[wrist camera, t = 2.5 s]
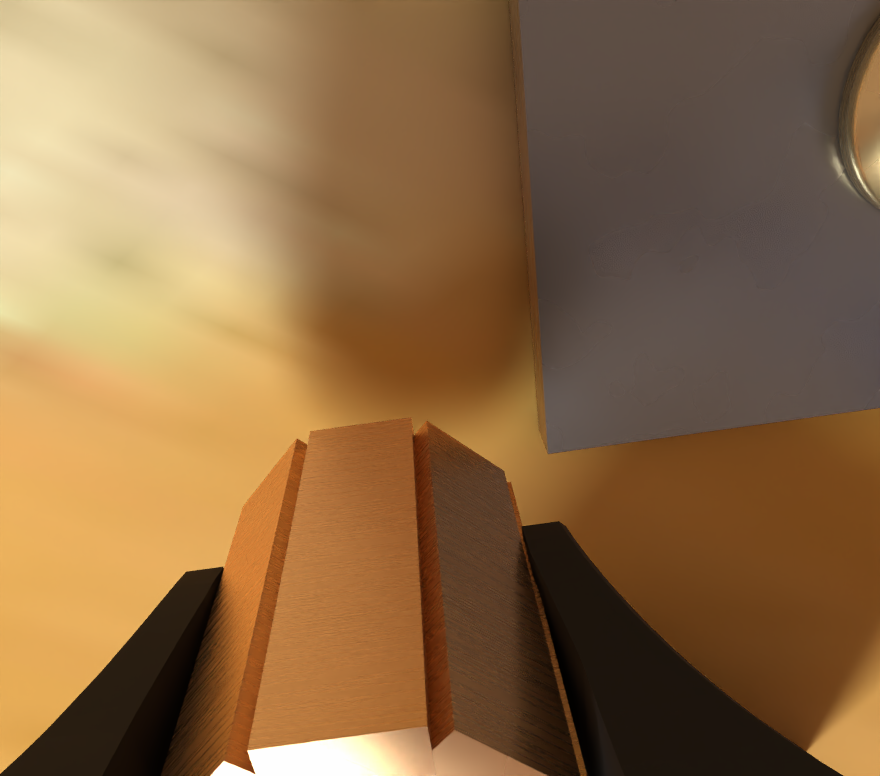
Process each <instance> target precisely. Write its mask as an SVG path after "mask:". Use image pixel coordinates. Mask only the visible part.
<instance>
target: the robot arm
mask: <svg viewBox="0 0 880 776" xmlns="http://www.w3.org/2000/svg"><path fill="white" fill-rule="evenodd" d="M522 535H523V539H524V543H525V547H526V551H527V555H528V559H529V562H530V566H531V570H532V574H533V578H534V580H535V583H536V585H537V588H538V590H539V593H540V596H541V600H542V604H543V608H544V612H545V615H546V619H547V623H548V627H549V631H550V635H551V638H552V642H553V646H554V650H555V654H556V658H557V661H558V665H559V669H560V673H561V677H562V681H563V685H564V688H565V692H566V696H567V700H568V704H569V708H570V711H571V715H572V719H573V723H574V727H575V731H576V734H577V738H578V742H579V746H580V750H581V754H582V758H583V761H584V765H585V769H586V773H587V776H843V775H841V774H840V773H838V772H836V771H835V770H833V769H832V768H830V767H828V766H827V765H825V764H823V763H822V762H820V761H819V760H817V759H816V758H814V757H813V756H812V755H810V754H809V753H807V752H806V751H804V750H803V749H801V748H800V747H798V746H797V745H796V744H794V743H793V742H791V741H790V740H788V739H787V738H785V737H784V736H782V735H781V734H780V733H778V732H777V731H775V730H774V729H772V728H771V727H769V726H768V725H766V724H765V723H764V722H762V721H761V720H759V719H758V718H757V717H755V716H754V715H752V714H751V713H750V712H749V711H747V710H746V709H745V708H743V707H742V706H741V705H740V704H738V703H737V702H736V701H734V700H733V699H732V698H731V697H729V696H728V695H727V694H725V693H724V692H723V691H722V690H720V689H719V688H718V687H717V686H716V685H714V684H713V683H712V682H711V681H710V680H708V679H707V678H706V677H705V676H704V675H702V674H701V673H700V672H699V671H698V670H696V669H695V668H694V667H693V666H692V665H691V664H690V663H688V662H687V661H686V660H685V659H684V658H683V657H682V656H681V655H680V654H679V653H677V652H676V651H675V650H674V649H673V648H672V647H671V646H670V645H669V644H668V643H667V642H666V641H665V640H664V639H663V638H662V637H661V636H660V635H658V634H657V633H656V632H655V631H654V630H653V629H652V628H651V627H650V626H649V625H648V624H647V623H646V622H645V621H644V620H643V619H642V618H641V617H640V616H639V615H638V613H637V612H636V611H635V610H634V609H633V608H632V607H631V606H630V605H629V604H628V603H627V602H626V600H625V599H624V598H623V597H622V596H621V595H620V594H619V593H618V592H617V591H616V590H615V589H614V587H613V586H612V585H611V584H610V583H609V582H608V581H607V579H606V578H605V577H604V576H603V575H602V574H601V572H600V571H599V570H598V569H597V567H596V566H595V565H594V564H593V563H592V561H591V560H590V559H589V558H588V556H587V555H586V554H585V552H584V551H583V550H582V549H581V547H580V546H579V545H578V543H577V542H576V540H575V539H574V538H573V536H572V535H571V533H570V532H569V530H568V529H567V527H566V526H565V525H563V524H562V523H560V522H559V521H558V522H551V523H544V524H536V525H529V526H522ZM223 571H224V568H223V567H218V568H211V569H203V570H196V571H189V572H186V573H185V574H184V575H183V576H182V577H181V578H180V579H179V581H178V582H177V583H176V584H175V585H174V586H173V588H172V589H171V590H170V591H169V592H168V594H167V595H166V596H165V597H164V598H163V600H162V601H161V602H160V603H159V604H158V606H157V607H156V608H155V609H154V611H153V612H152V613H151V614H150V615H149V617H148V618H147V619H146V620H145V621H144V622H143V624H142V625H141V626H140V627H139V628H138V630H137V631H136V632H135V633H134V634H133V636H132V637H131V638H130V639H129V640H128V641H127V643H126V644H125V645H124V646H123V647H122V648H121V650H120V651H119V652H118V653H117V654H116V655H115V656H114V658H113V659H112V660H111V661H110V662H109V663H108V665H107V666H106V667H105V668H104V669H103V670H102V671H101V673H100V674H99V675H98V676H97V677H96V678H95V679H94V680H93V681H92V682H91V683H90V684H89V685H88V687H87V688H86V689H85V690H84V691H83V692H82V693H81V694H80V695H79V696H78V697H77V698H76V699H75V700H74V701H73V703H72V704H71V705H70V706H69V707H68V708H67V709H66V710H65V711H64V712H63V713H62V714H61V715H60V716H59V718H58V719H57V720H56V721H55V722H54V723H53V724H52V725H51V726H50V727H49V728H48V729H47V730H46V731H45V732H44V733H43V734H42V735H41V736H40V737H39V738H38V739H37V740H36V741H35V742H34V743H33V744H32V745H31V746H30V747H29V748H28V749H27V750H26V751H25V752H24V753H22V754H21V755H20V756H19V757H18V758H17V759H16V760H15V761H14V762H13V763H12V764H11V765H10V766H8V767H7V768H6V769H5V770H4V771H3V772H2V773H1V774H0V776H161V774H162V771H163V767H164V764H165V761H166V757H167V754H168V751H169V748H170V744H171V741H172V738H173V734H174V731H175V728H176V725H177V721H178V718H179V715H180V712H181V708H182V705H183V702H184V698H185V695H186V692H187V689H188V685H189V682H190V679H191V675H192V672H193V669H194V666H195V662H196V659H197V656H198V653H199V649H200V646H201V643H202V639H203V636H204V633H205V630H206V626H207V623H208V620H209V616H210V613H211V610H212V607H213V603H214V600H215V597H216V594H217V590H218V587H219V584H220V580H221V577H222V574H223Z"/></svg>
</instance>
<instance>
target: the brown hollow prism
mask: <svg viewBox="0 0 880 776" xmlns="http://www.w3.org/2000/svg"><path fill="white" fill-rule="evenodd" d="M161 776H587V773H586V769H585V765H584V761H583V758H582V754H581V750H580V746H579V742H578V738H577V734H576V731H575V727H574V723H573V719H572V715H571V711H570V708H569V704H568V700H567V696H566V692H565V688H564V685H563V681H562V677H561V673H560V669H559V665H558V661H557V658H556V654H555V650H554V646H553V642H552V638H551V635H550V631H549V627H548V623H547V619H546V615H545V612H544V608H543V604H542V600H541V596H540V593H539V590H538V588H537V585H536V583H535V580H534V578H533V574H532V570H531V566H530V562H529V559H528V555H527V551H526V547H525V543H524V539H523V535H522V523H521V519H520V516H519V512H518V508H517V504H516V500H515V496H514V492H513V489H512V485H511V482H507V481H506V477H505V473H504V471H503V470H502V469H500V468H498V467H497V466H495V465H494V464H492V463H491V462H489V461H488V460H486V459H485V458H483V457H482V456H480V455H479V454H477V453H475V452H474V451H472V450H471V449H469V448H468V447H466V446H465V445H463V444H462V443H460V442H459V441H457V440H456V439H454V438H452V437H451V436H449V435H448V434H446V433H445V432H443V431H442V430H440V429H439V428H437V427H436V426H434V425H433V424H431V423H429V422H428V421H426V422H425V423H424V425H423V426H422V427H421V428H420V429H419V430H418V431H417V433H416V434H415V435H414V431H413V425H412V419H411V418H404V419H396V420H389V421H382V422H374V423H367V424H360V425H352V426H345V427H338V428H330V429H323V430H316V431H310V435H309V440H308V445H307V444H305V443H304V442H302V441H300V440H299V439H296V440H295V441H294V443H293V444H292V445H291V446H290V448H289V449H288V450H287V452H286V453H285V454H284V455H283V457H282V458H281V459H280V460H279V462H278V463H277V464H276V465H275V467H274V468H273V469H272V471H271V472H270V473H269V474H268V476H267V477H266V478H265V479H264V481H263V482H262V483H261V484H260V486H259V487H258V488H257V489H256V491H255V492H254V493H253V495H252V496H251V497H250V498H249V500H248V501H247V502H246V503H245V505H244V506H243V508H242V512H241V515H240V518H239V521H238V525H237V528H236V531H235V535H234V538H233V541H232V544H231V548H230V551H229V554H228V557H227V561H226V564H225V567H224V571H223V574H222V577H221V580H220V584H219V587H218V590H217V594H216V597H215V600H214V603H213V607H212V610H211V613H210V616H209V620H208V623H207V626H206V630H205V633H204V636H203V639H202V643H201V646H200V649H199V653H198V656H197V659H196V662H195V666H194V669H193V672H192V675H191V679H190V682H189V685H188V689H187V692H186V695H185V698H184V702H183V705H182V708H181V712H180V715H179V718H178V721H177V725H176V728H175V731H174V734H173V738H172V741H171V744H170V748H169V751H168V754H167V757H166V761H165V764H164V767H163V771H162V774H161Z"/></svg>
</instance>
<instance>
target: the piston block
mask: <svg viewBox="0 0 880 776" xmlns="http://www.w3.org/2000/svg"><path fill="white" fill-rule="evenodd" d="M509 11H510V25H511V39H512V54H513V68H514V82H515V97H516V111H517V125H518V139H519V154H520V168H521V182H522V197H523V211H524V225H525V239H526V254H527V268H528V282H529V296H530V311H531V325H532V339H533V354H534V368H535V382H536V396H537V411H538V425H539V431H540V434H541V437H542V440H543V442H544V445H545V448H546V450H547V453H548V454H551V453H558V452H565V451H572V450H580V449H587V448H594V447H601V446H608V445H616V444H623V443H630V442H637V441H644V440H652V439H659V438H666V437H673V436H680V435H688V434H695V433H702V432H709V431H716V430H724V429H731V428H738V427H745V426H752V425H760V424H767V423H774V422H781V421H788V420H796V419H803V418H810V417H817V416H824V415H832V414H839V413H846V412H853V411H860V410H868V409H875V408H880V0H509Z"/></svg>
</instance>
